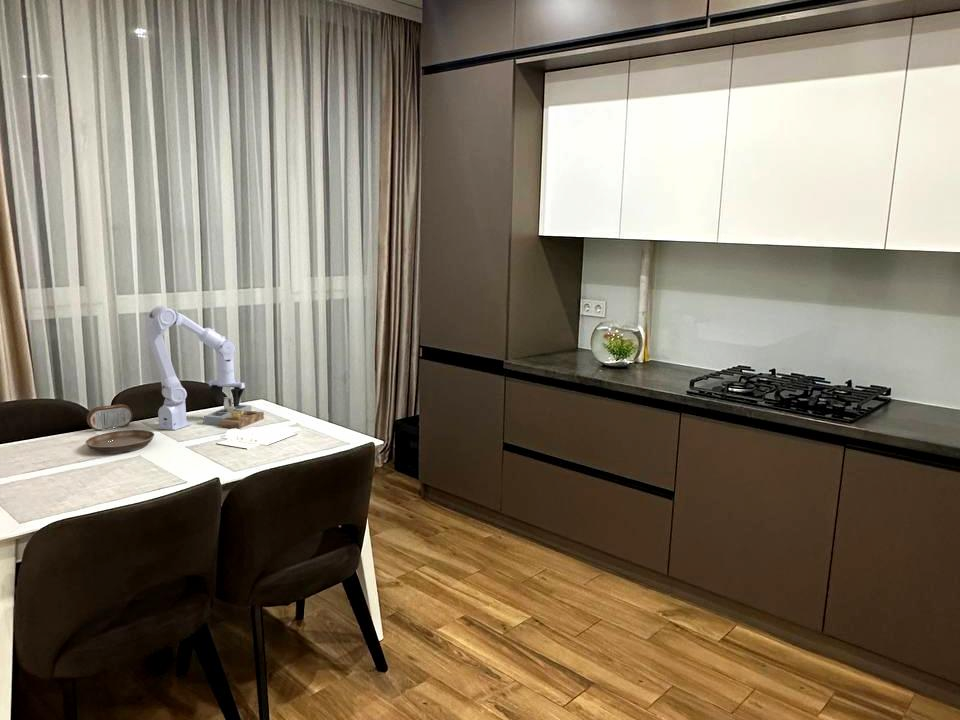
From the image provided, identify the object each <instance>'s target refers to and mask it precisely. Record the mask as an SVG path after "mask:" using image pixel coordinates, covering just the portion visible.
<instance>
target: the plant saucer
mask: <svg viewBox="0 0 960 720" xmlns="http://www.w3.org/2000/svg"><path fill="white" fill-rule="evenodd" d="M154 437H155V433H154V432H152V431H149V430H146V429H144V430H143V429H126V430H116V431H110V432H105V433H101V434H98V435H94V436H91V437H90V438H88V439H86V441H85V444H86V446H87V447H88V448H89V449H90V450H92V451H94V452H96V453H99V454H122V453H129V452H135V451H138V450H140V449H143V448H145V447H147V446H148V445H149V444H150V443H151V442H152V440H154ZM112 440H113V441H112ZM108 441H109V442H108ZM110 441H111V442H110Z"/></svg>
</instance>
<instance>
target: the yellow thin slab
mask: <svg viewBox="0 0 960 720" xmlns="http://www.w3.org/2000/svg"><path fill="white" fill-rule="evenodd" d="M228 413H231V417H232V419H237V420H239V419H240V414H243V413H244V411H241V410H230V409H229V410H228Z"/></svg>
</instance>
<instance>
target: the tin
mask: <svg viewBox="0 0 960 720" xmlns="http://www.w3.org/2000/svg"><path fill="white" fill-rule="evenodd" d="M133 414H134V413H133V411H132V410H131V408H130V407H129V406H128V405H127V404H123V403H122V404H119V403H118V404H113V405H103V406H96V407H94V408H92V409H90V411H89V412H88V413H87V415H86V423H87V425H88V426H89V427H90V428H92V429H93V430H95V431H103V430H102V429H107V430H109V429H108V428H113V427H121V428H124V426H125V427H127V426H128V425H129V424H131V422H132V421H133V418H134V415H133Z"/></svg>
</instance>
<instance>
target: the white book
mask: <svg viewBox="0 0 960 720" xmlns="http://www.w3.org/2000/svg"><path fill="white" fill-rule="evenodd" d="M300 430H301V428H299V427H295V426H294V427H292V426H286V425H285V426H284V425H278V424H272V423H270V424H269V425H266V426H265V425H264V426H262V427H257V426H255V427H254V426H252V427H249V428H248V427H247V428H246V429H242V430H241V428H240V429H236V428H227V431H226V433H225V435H224V436H222V437H221V438H220V439H223V440H222V441H219V442H215V444H216V445H218V444H219V445H224V446H231V447H236V448H241V449H243V448H244V449H247V450H249V449H252V448H255V447H257V446H264V447H265V446H266V447H268V445H271V444H274V443H276V442H279V441H281V440H284V439H286V438H290V437H292V436H295V435H297V433H295V432H298V431H300Z"/></svg>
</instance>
